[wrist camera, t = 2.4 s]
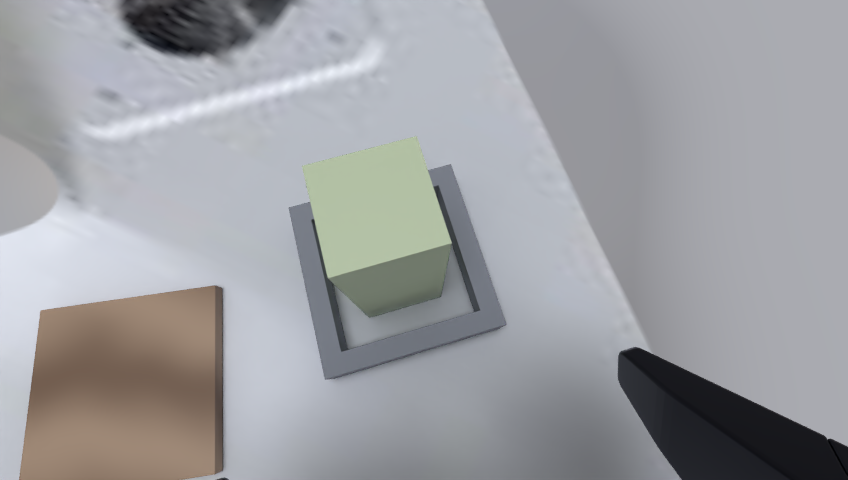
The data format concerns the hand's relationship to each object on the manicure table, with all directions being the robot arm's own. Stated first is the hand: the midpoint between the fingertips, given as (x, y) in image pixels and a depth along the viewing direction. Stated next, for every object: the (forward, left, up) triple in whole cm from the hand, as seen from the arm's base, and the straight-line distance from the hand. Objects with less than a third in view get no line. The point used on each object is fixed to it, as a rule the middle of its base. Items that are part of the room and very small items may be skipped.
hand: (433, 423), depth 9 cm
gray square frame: (+6, +1, -12) cm, 14 cm away
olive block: (+6, +1, -13) cm, 14 cm away
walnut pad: (+2, +15, -12) cm, 20 cm away
